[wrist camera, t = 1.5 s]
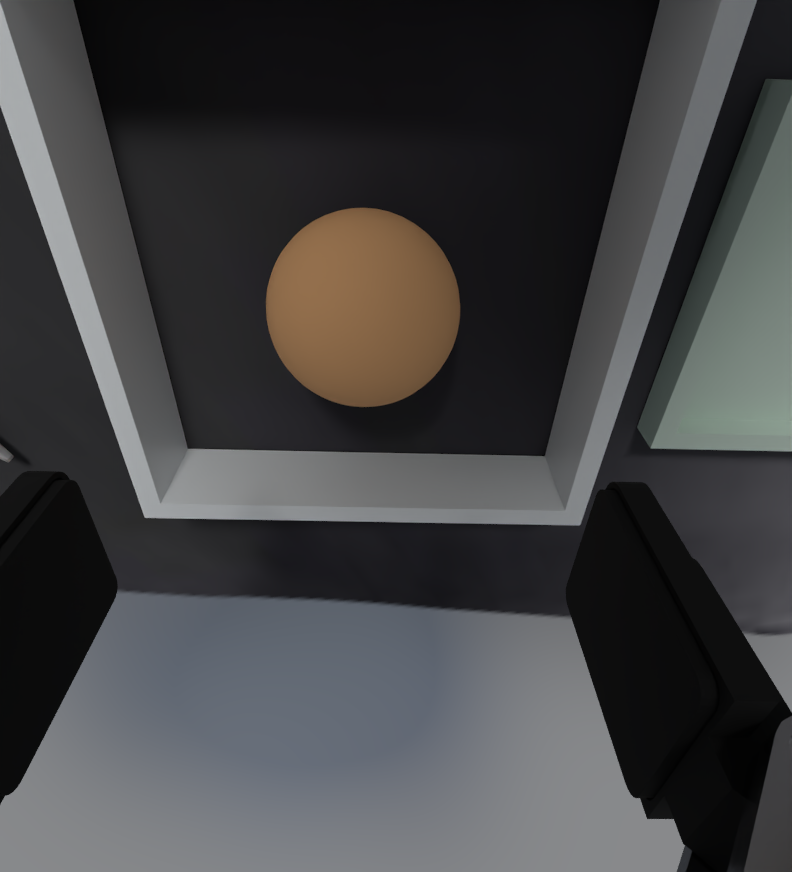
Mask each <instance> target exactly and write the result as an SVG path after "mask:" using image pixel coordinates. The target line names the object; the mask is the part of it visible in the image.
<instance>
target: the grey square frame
mask: <svg viewBox="0 0 792 872" xmlns="http://www.w3.org/2000/svg"><path fill="white" fill-rule="evenodd" d="M756 2H757V0H660V2H659V6H658V10H657V14H656V18H655V22H654V26H653V30H652V34H651V38H650V42H649V46H648V50H647V54H646V58H645V62H644V66H643V70H642V73H641V77H640V81H639V85H638V89H637V93H636V97H635V101H634V105H633V109H632V113H631V117H630V121H629V125H628V129H627V133H626V137H625V141H624V145H623V149H622V153H621V157H620V161H619V164H618V168H617V172H616V176H615V180H614V184H613V188H612V192H611V196H610V200H609V204H608V208H607V212H606V216H605V220H604V224H603V228H602V232H601V236H600V240H599V244H598V248H597V252H596V255H595V259H594V263H593V267H592V271H591V275H590V279H589V283H588V287H587V291H586V295H585V299H584V303H583V307H582V311H581V315H580V319H579V323H578V327H577V331H576V335H575V339H574V343H573V346H572V350H571V354H570V358H569V362H568V366H567V370H566V374H565V378H564V382H563V386H562V390H561V394H560V398H559V402H558V406H557V410H556V414H555V418H554V422H553V426H552V430H551V433H550V437H549V441H548V445H547V449H546V453H545V456H514V455H465V454H417V453H368V452H319V451H270V450H221V449H188V447H187V443H186V439H185V436H184V432H183V428H182V424H181V420H180V416H179V412H178V408H177V404H176V400H175V396H174V392H173V389H172V385H171V381H170V377H169V373H168V369H167V365H166V361H165V357H164V353H163V349H162V346H161V342H160V338H159V334H158V330H157V326H156V322H155V318H154V314H153V310H152V306H151V302H150V299H149V295H148V291H147V287H146V283H145V279H144V275H143V271H142V267H141V263H140V259H139V256H138V252H137V248H136V244H135V240H134V236H133V232H132V228H131V224H130V220H129V216H128V212H127V209H126V205H125V201H124V197H123V193H122V189H121V185H120V181H119V177H118V173H117V169H116V166H115V162H114V158H113V154H112V150H111V146H110V142H109V138H108V134H107V130H106V126H105V122H104V119H103V115H102V111H101V107H100V103H99V99H98V95H97V91H96V87H95V83H94V79H93V75H92V72H91V68H90V64H89V60H88V56H87V52H86V48H85V44H84V40H83V36H82V32H81V29H80V25H79V21H78V17H77V13H76V9H75V5H74V1H73V0H0V106H1V109H2V112H3V115H4V118H5V120H6V123H7V126H8V129H9V132H10V135H11V138H12V140H13V143H14V146H15V149H16V152H17V155H18V158H19V160H20V163H21V166H22V169H23V172H24V175H25V178H26V180H27V183H28V186H29V189H30V192H31V195H32V197H33V200H34V203H35V206H36V209H37V212H38V215H39V217H40V220H41V223H42V226H43V229H44V232H45V235H46V237H47V240H48V243H49V246H50V249H51V252H52V254H53V257H54V260H55V263H56V266H57V269H58V272H59V274H60V277H61V280H62V283H63V286H64V289H65V292H66V294H67V297H68V300H69V303H70V306H71V309H72V312H73V314H74V317H75V320H76V323H77V326H78V329H79V331H80V334H81V337H82V340H83V343H84V346H85V349H86V351H87V354H88V357H89V360H90V363H91V366H92V369H93V371H94V374H95V377H96V380H97V383H98V386H99V388H100V391H101V394H102V397H103V400H104V403H105V406H106V408H107V411H108V414H109V417H110V420H111V423H112V426H113V428H114V431H115V434H116V437H117V440H118V443H119V445H120V448H121V451H122V454H123V457H124V460H125V463H126V465H127V468H128V471H129V474H130V477H131V480H132V483H133V485H134V488H135V491H136V494H137V497H138V500H139V503H140V505H141V508H142V511H143V514H144V517H145V518H185V519H242V520H300V521H357V522H415V523H472V524H530V525H580V524H581V521H582V518H583V515H584V513H585V510H586V507H587V504H588V501H589V498H590V495H591V492H592V489H593V486H594V483H595V480H596V477H597V474H598V471H599V468H600V465H601V462H602V459H603V456H604V453H605V450H606V447H607V444H608V441H609V438H610V435H611V432H612V429H613V426H614V423H615V420H616V417H617V415H618V412H619V409H620V406H621V403H622V400H623V397H624V394H625V391H626V388H627V385H628V382H629V379H630V376H631V373H632V370H633V367H634V364H635V361H636V358H637V355H638V352H639V349H640V346H641V343H642V340H643V337H644V334H645V331H646V328H647V325H648V322H649V320H650V317H651V314H652V311H653V308H654V305H655V302H656V299H657V296H658V293H659V290H660V287H661V284H662V281H663V278H664V275H665V272H666V269H667V266H668V263H669V260H670V257H671V254H672V251H673V248H674V245H675V242H676V239H677V236H678V233H679V230H680V227H681V225H682V222H683V219H684V216H685V213H686V210H687V207H688V204H689V201H690V198H691V195H692V192H693V189H694V186H695V183H696V180H697V177H698V174H699V171H700V168H701V165H702V162H703V159H704V156H705V153H706V150H707V147H708V144H709V141H710V138H711V135H712V132H713V130H714V127H715V124H716V121H717V118H718V115H719V112H720V109H721V106H722V103H723V100H724V97H725V94H726V91H727V88H728V85H729V82H730V79H731V76H732V73H733V70H734V67H735V64H736V61H737V58H738V55H739V52H740V49H741V46H742V43H743V40H744V37H745V35H746V32H747V29H748V26H749V23H750V20H751V17H752V14H753V11H754V8H755V5H756Z"/></svg>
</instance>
